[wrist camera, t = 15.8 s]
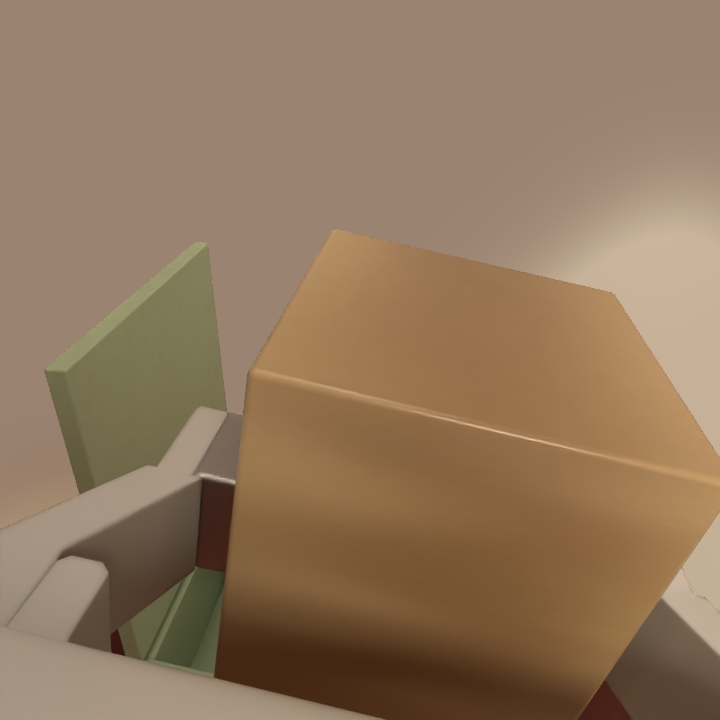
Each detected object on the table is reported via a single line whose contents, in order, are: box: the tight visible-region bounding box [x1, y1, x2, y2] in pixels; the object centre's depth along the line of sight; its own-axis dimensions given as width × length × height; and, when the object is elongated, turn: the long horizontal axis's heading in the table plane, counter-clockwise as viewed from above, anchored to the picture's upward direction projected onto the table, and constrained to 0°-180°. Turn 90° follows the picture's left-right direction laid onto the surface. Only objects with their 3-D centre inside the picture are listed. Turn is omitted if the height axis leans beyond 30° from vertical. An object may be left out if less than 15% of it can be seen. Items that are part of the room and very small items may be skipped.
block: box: [214, 229, 720, 720], centre depth 9 cm, size 4×4×8 cm
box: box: [143, 567, 225, 678], centre depth 32 cm, size 13×12×10 cm
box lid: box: [45, 242, 227, 660], centre depth 26 cm, size 14×12×1 cm
